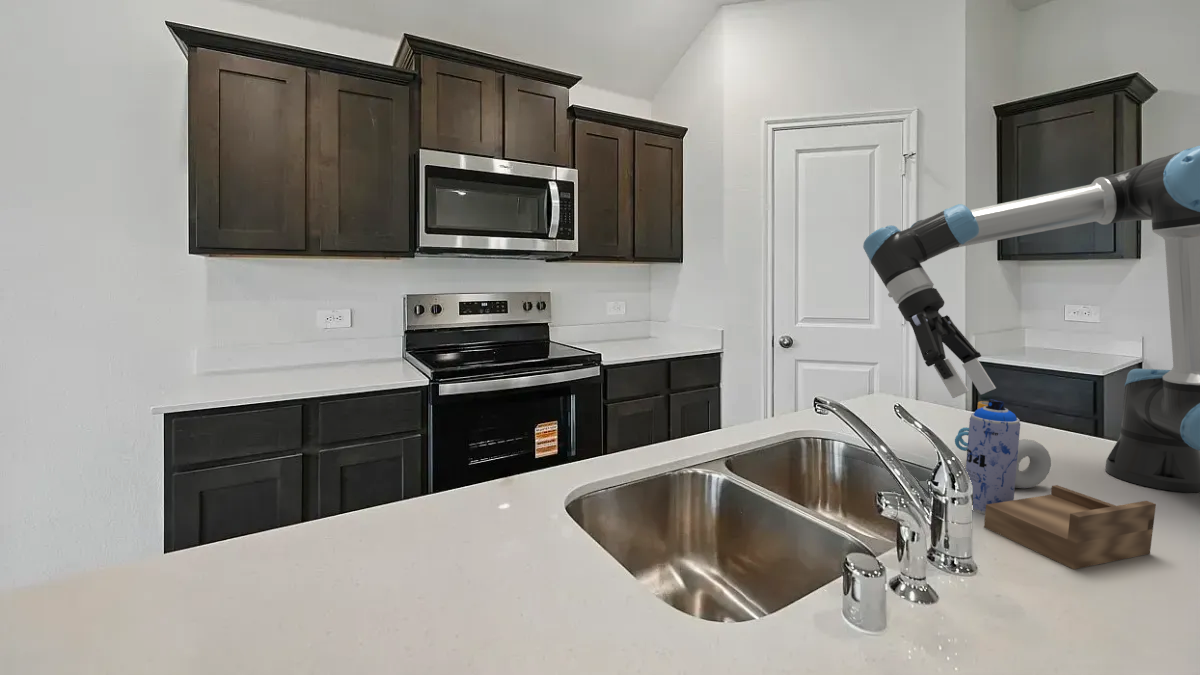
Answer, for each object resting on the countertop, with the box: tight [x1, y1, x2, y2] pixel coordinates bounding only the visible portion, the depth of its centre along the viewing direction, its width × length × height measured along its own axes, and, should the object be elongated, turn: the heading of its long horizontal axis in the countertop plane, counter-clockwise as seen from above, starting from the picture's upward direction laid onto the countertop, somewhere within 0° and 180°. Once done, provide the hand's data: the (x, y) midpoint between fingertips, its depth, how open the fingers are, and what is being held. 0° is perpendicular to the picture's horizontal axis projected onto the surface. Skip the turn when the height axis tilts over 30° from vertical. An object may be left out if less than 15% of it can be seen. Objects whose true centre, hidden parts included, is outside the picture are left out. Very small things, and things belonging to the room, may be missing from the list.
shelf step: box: [983, 484, 1157, 570], centre depth 90 cm, size 16×14×8 cm
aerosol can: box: [965, 398, 1021, 515], centre depth 101 cm, size 8×8×20 cm
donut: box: [1015, 438, 1052, 489], centre depth 111 cm, size 10×4×10 cm, turn 93°
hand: (975, 393), depth 103 cm, fingers open, 13 cm apart
